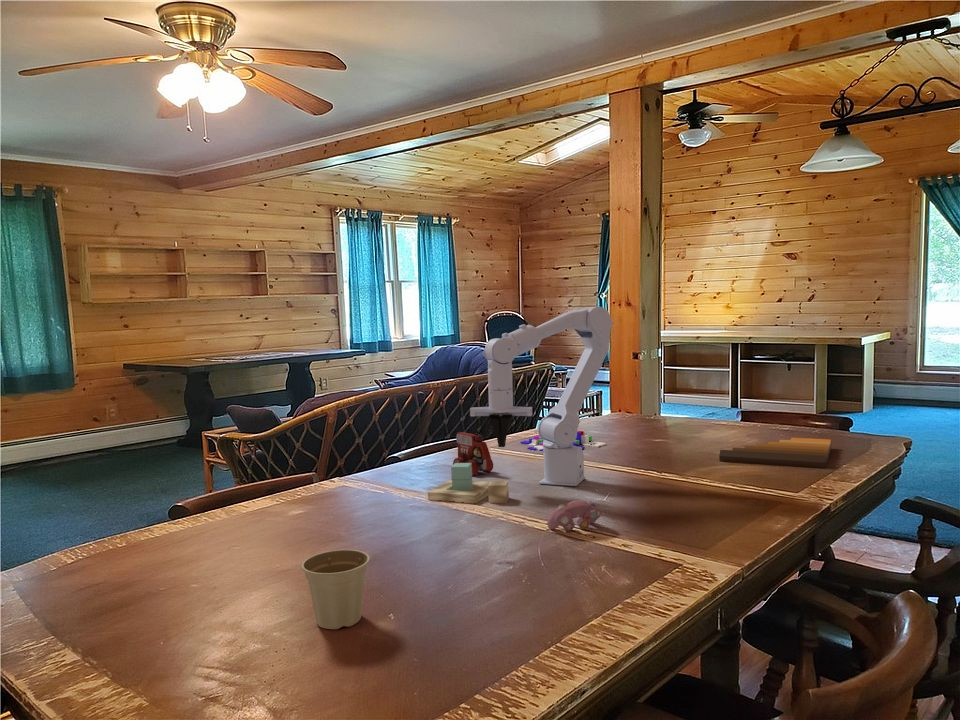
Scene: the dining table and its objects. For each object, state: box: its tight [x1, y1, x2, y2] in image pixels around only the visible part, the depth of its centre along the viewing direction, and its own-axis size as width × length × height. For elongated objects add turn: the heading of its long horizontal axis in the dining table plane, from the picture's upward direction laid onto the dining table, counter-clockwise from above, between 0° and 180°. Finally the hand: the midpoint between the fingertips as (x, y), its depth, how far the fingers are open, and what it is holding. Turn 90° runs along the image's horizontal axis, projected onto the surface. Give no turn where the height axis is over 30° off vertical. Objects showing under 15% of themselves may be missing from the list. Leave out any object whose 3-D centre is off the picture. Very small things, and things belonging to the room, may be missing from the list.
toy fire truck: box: [452, 431, 494, 477], centre depth 181 cm, size 7×12×10 cm, turn 40°
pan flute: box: [718, 437, 832, 469], centre depth 184 cm, size 25×3×25 cm
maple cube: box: [487, 480, 510, 504], centre depth 153 cm, size 4×4×4 cm
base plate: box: [427, 478, 490, 504], centre depth 159 cm, size 12×12×2 cm
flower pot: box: [301, 549, 371, 630], centre depth 96 cm, size 9×9×9 cm
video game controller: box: [546, 500, 602, 532], centre depth 130 cm, size 10×5×7 cm, turn 107°
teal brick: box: [450, 463, 473, 491], centre depth 159 cm, size 4×4×6 cm
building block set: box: [519, 430, 607, 452], centre depth 211 cm, size 25×20×4 cm
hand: (501, 446), depth 161 cm, fingers closed
